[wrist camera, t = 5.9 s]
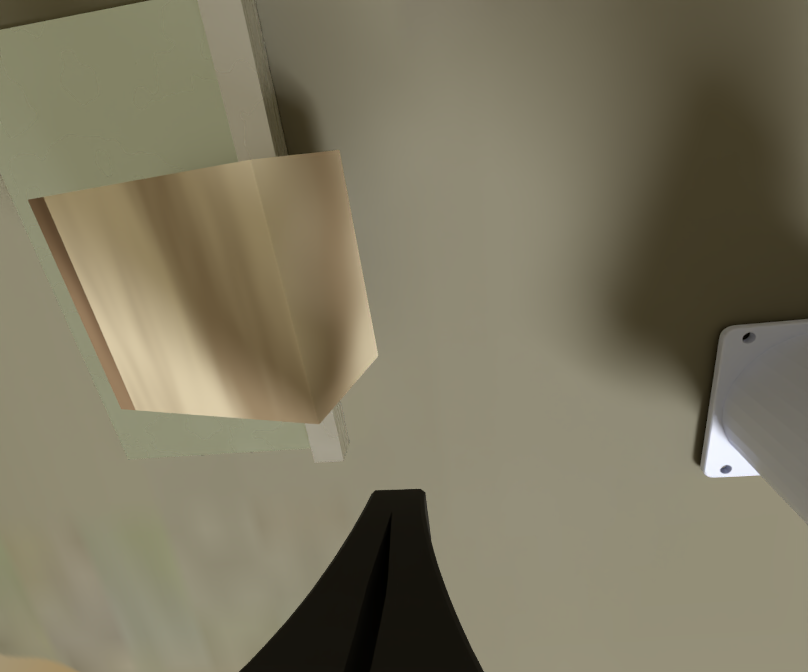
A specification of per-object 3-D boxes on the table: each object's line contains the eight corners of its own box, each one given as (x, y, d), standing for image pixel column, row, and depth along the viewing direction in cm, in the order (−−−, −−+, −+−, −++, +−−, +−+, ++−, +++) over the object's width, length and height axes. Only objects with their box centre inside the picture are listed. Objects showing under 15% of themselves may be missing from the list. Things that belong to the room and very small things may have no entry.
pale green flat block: (251, -17, 16) (233, -32, 15) (349, 442, 24) (343, 460, 22) (-51, 43, 18) (-92, 34, 16) (131, 456, 25) (113, 474, 24)
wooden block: (250, 159, 11) (27, 199, 15) (319, 424, 14) (121, 409, 18) (339, 149, 16) (151, 182, 19) (378, 355, 19) (209, 353, 22)
